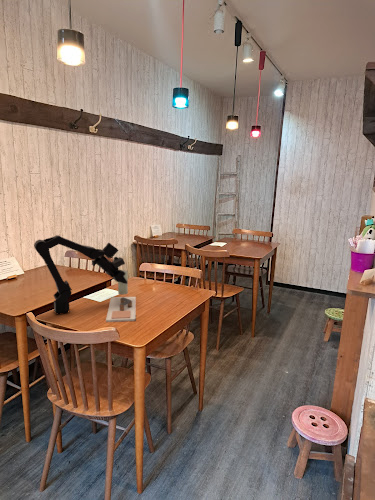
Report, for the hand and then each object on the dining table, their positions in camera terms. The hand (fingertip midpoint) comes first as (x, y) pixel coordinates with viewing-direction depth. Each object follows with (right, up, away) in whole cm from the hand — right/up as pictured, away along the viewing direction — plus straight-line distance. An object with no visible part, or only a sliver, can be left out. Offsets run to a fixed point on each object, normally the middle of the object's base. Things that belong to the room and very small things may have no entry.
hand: (125, 281), depth 191 cm
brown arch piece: (+1, -12, -9) cm, 15 cm away
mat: (+2, -16, -20) cm, 26 cm away
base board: (0, -14, -9) cm, 17 cm away
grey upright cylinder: (-1, -6, 0) cm, 7 cm away
